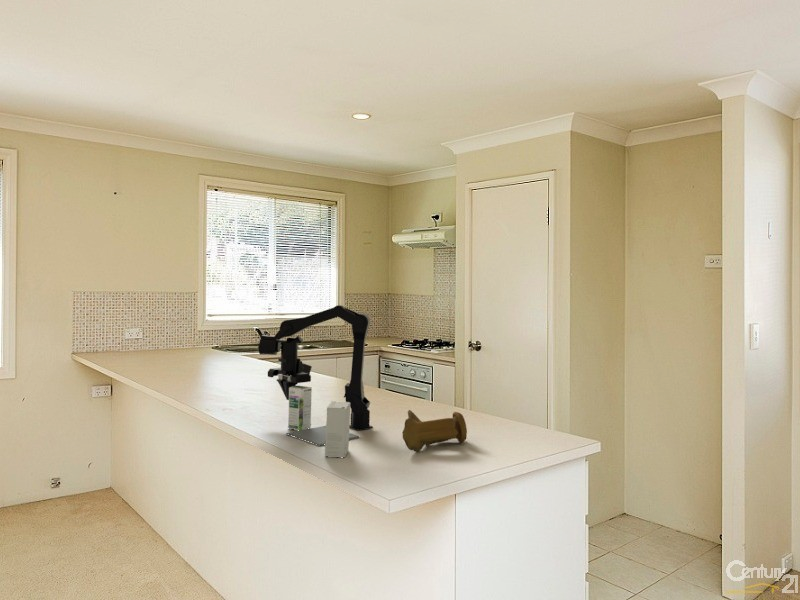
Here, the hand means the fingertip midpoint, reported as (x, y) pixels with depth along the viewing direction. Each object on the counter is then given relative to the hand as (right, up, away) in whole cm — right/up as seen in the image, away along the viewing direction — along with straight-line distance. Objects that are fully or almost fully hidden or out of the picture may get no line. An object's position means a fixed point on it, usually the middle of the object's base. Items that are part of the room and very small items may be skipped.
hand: (288, 399), depth 206 cm
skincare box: (+21, -10, -34) cm, 41 cm away
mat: (+14, -10, -14) cm, 22 cm away
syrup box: (+5, -9, -5) cm, 11 cm away
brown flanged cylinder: (+49, -11, -23) cm, 55 cm away
